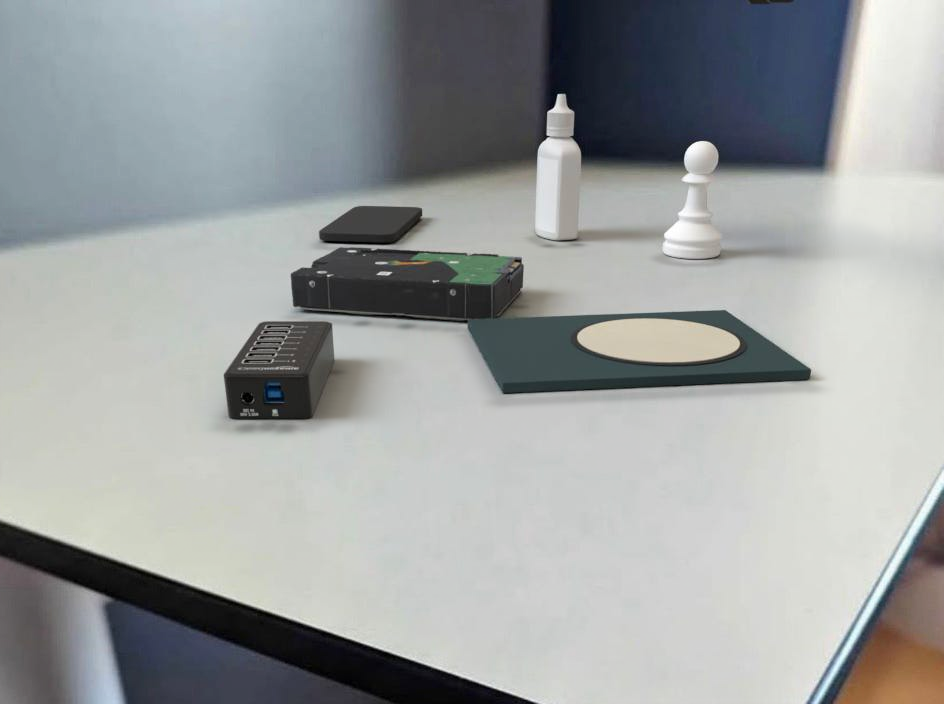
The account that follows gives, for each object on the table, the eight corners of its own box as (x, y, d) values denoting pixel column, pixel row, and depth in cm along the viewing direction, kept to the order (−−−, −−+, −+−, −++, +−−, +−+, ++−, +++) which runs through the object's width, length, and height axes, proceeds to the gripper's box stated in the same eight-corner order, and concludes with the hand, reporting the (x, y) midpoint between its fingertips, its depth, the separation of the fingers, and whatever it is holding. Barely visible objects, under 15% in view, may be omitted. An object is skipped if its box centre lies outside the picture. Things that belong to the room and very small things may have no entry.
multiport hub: (335, 358, 63) (332, 320, 62) (311, 418, 53) (307, 375, 52) (263, 358, 63) (259, 320, 62) (226, 418, 53) (221, 375, 52)
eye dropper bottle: (529, 240, 96) (533, 96, 89) (536, 230, 100) (541, 92, 94) (576, 242, 95) (583, 96, 89) (581, 231, 100) (588, 92, 93)
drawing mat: (724, 318, 71) (725, 307, 71) (810, 379, 59) (812, 366, 59) (467, 328, 69) (467, 316, 69) (502, 393, 57) (502, 380, 57)
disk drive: (291, 314, 73) (496, 324, 70) (287, 273, 71) (496, 281, 68) (340, 282, 81) (524, 289, 78) (337, 245, 80) (525, 251, 77)
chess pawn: (727, 259, 88) (741, 144, 84) (669, 260, 88) (681, 144, 83) (711, 247, 93) (723, 137, 88) (656, 248, 92) (666, 138, 88)
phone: (314, 232, 94) (355, 205, 107) (315, 242, 95) (355, 213, 108) (393, 235, 93) (425, 207, 106) (393, 244, 94) (425, 215, 106)
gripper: (883, -281, 69) (838, 2, 77) (831, -236, 81) (797, 4, 89) (770, -279, 69) (737, 3, 77) (735, -235, 81) (710, 4, 90)
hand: (769, 3), depth 83 cm, fingers open, 8 cm apart
